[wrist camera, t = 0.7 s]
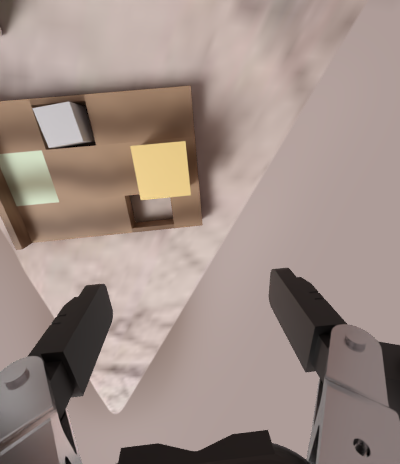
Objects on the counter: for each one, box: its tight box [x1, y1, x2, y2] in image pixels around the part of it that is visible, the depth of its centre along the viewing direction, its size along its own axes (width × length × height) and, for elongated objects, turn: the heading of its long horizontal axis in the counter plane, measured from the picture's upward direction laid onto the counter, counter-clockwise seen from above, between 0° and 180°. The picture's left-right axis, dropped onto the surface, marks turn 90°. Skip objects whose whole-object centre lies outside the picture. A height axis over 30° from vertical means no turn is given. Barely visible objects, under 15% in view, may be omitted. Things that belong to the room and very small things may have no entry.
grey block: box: [32, 102, 95, 148], centre depth 26 cm, size 4×4×4 cm
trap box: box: [0, 86, 202, 250], centre depth 28 cm, size 17×25×4 cm
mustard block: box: [130, 141, 191, 200], centre depth 25 cm, size 6×6×6 cm
